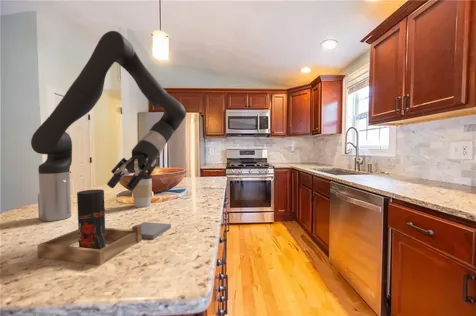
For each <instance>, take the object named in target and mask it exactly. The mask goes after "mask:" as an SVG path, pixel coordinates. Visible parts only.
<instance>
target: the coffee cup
mask: <svg viewBox="0 0 476 316" xmlns="http://www.w3.org/2000/svg"><path fill="white" fill-rule="evenodd" d="M147 172H148V171H146V172H145V173H146V174H147ZM132 174H133V175H132V176H131V178H132V177H133V176H135V173H132ZM152 182H153V175H152V174H151V175H150V176H149V178H148V179H145V178H144V179H143V180H141V181H139V183H138V184H137V185H136V187H135V188H134V189H133V190H131V192H132V198H133V204H134V207H135V208H147V207H150V206H151V203H152V202H151V201H152V200H151V199H152V191H153V190H152V188H153V183H152Z"/></svg>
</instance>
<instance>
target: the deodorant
mask: <svg viewBox="0 0 476 316" xmlns="http://www.w3.org/2000/svg"><path fill="white" fill-rule="evenodd" d="M76 198H77V199H76V200H77V203H76V204H77V227H78V229H77V230H78V232H79V241H78V247H81V248H91V249H102V248H104V247H106V246H107V245H106V240H107V239H105V228H106V217H105V216H106V213H105V212H106V211H105V209H106V208H105V191H104V189H87V190H80V191H77V192H76Z"/></svg>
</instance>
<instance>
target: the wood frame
mask: <svg viewBox="0 0 476 316" xmlns="http://www.w3.org/2000/svg"><path fill="white" fill-rule="evenodd" d="M105 239H106V240H108V241H113V242H111V243H110V244H108V245H106V247H104V248H102V249H91V248H81V247H79V246H71V245H72V244H76V243H79V232H78V229H76V230H72V231H71V232H67V233H64V234H63V235H59V236H57V237H54V238H52V239H48V240H47V241H46V240H45V241H43V242H40V243H39V244H36V245H37V258H42V259H51V260H58V261H66V262H67V261H68V262H75V263H82V264H90V265H99V266H101V265H103V264H105V263H106V262H109V261H110V260H112V259H113V258H114V257H116V256H118V255H120V254H121V253H123V252H124V251H126V250H127V249H129V248H130V247H133V246H134V245H135V244H138V243H140V242H142V241H143V240H142V238H141V225H139V224H135V225H133V226H132V230H129V228H128V229H125V228H114V227H113V228H112V227H105Z"/></svg>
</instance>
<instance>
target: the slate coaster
mask: <svg viewBox="0 0 476 316" xmlns="http://www.w3.org/2000/svg"><path fill="white" fill-rule="evenodd" d="M138 225H141V239H147V240H155V239H156V238H158V237H159V236H160V235H162V234H164V233H165V232H167V231H168V230H170V229H171V228H172V224H171V223H163V222H162V223H160V222H159V223H158V222H148V221H147V222H146V221H143V222H141V223H138ZM128 230H132V228H130V229H129V228H128Z"/></svg>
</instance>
